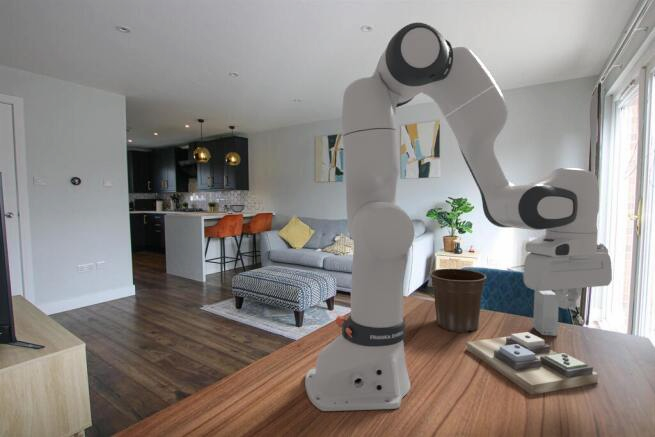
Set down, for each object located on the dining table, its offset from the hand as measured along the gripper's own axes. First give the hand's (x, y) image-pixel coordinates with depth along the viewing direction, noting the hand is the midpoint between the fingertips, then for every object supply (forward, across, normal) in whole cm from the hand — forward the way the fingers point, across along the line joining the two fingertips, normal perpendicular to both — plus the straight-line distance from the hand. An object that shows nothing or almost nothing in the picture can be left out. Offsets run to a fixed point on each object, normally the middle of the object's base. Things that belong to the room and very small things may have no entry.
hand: (567, 307), depth 70 cm
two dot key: (+13, +8, -5) cm, 16 cm away
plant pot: (+16, +5, -31) cm, 36 cm away
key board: (+16, +4, -6) cm, 17 cm away
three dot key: (+13, 0, 0) cm, 13 cm away
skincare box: (+16, -17, -20) cm, 31 cm away
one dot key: (+13, 0, -10) cm, 16 cm away
